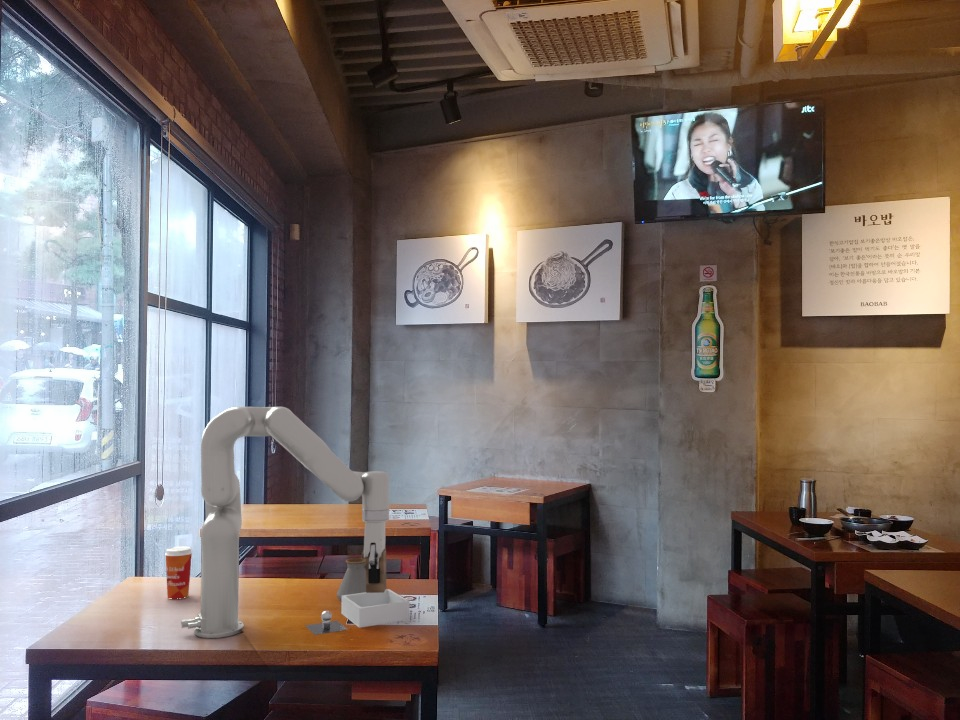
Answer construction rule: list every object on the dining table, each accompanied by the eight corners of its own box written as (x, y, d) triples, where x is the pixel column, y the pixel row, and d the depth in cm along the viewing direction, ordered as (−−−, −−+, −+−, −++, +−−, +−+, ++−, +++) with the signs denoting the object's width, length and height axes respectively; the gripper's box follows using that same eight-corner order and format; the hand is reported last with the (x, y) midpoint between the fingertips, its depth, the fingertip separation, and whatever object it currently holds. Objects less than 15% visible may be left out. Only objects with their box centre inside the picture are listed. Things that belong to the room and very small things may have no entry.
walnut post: (366, 592, 207) (365, 552, 207) (368, 588, 212) (368, 549, 212) (384, 592, 207) (383, 552, 207) (386, 587, 212) (385, 548, 212)
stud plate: (314, 638, 193) (315, 617, 193) (304, 629, 201) (305, 608, 201) (348, 633, 197) (348, 612, 197) (337, 624, 205) (337, 604, 205)
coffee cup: (157, 599, 229) (158, 550, 230) (175, 592, 237) (176, 545, 238) (180, 601, 227) (181, 552, 228) (198, 594, 235) (199, 546, 235)
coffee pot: (370, 608, 220) (370, 557, 220) (332, 607, 221) (332, 556, 221) (385, 590, 241) (385, 543, 242) (350, 589, 242) (350, 542, 243)
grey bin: (359, 631, 199) (359, 608, 199) (341, 616, 212) (341, 595, 212) (409, 623, 206) (409, 601, 206) (389, 609, 219) (389, 589, 219)
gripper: (367, 510, 219) (367, 573, 218) (357, 520, 202) (357, 588, 201) (392, 510, 219) (393, 573, 218) (384, 520, 202) (385, 588, 201)
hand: (375, 579), depth 209 cm, fingers closed on walnut post, 5 cm apart
